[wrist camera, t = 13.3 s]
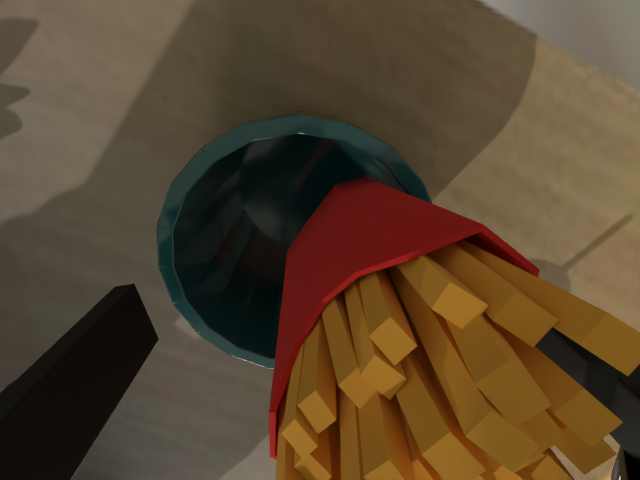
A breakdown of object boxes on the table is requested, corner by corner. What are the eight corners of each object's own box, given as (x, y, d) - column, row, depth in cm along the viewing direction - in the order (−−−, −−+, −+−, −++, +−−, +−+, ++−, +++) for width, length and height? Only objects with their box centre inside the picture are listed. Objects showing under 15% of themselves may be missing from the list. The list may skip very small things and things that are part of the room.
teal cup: (236, 300, 24) (205, 386, 17) (184, 129, 19) (107, 145, 12) (399, 275, 24) (440, 352, 16) (388, 95, 19) (439, 90, 12)
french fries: (359, 147, 14) (594, 277, 3) (422, 196, 15) (758, 418, 4) (259, 285, 16) (192, 643, 5) (320, 319, 18) (369, 672, 7)
